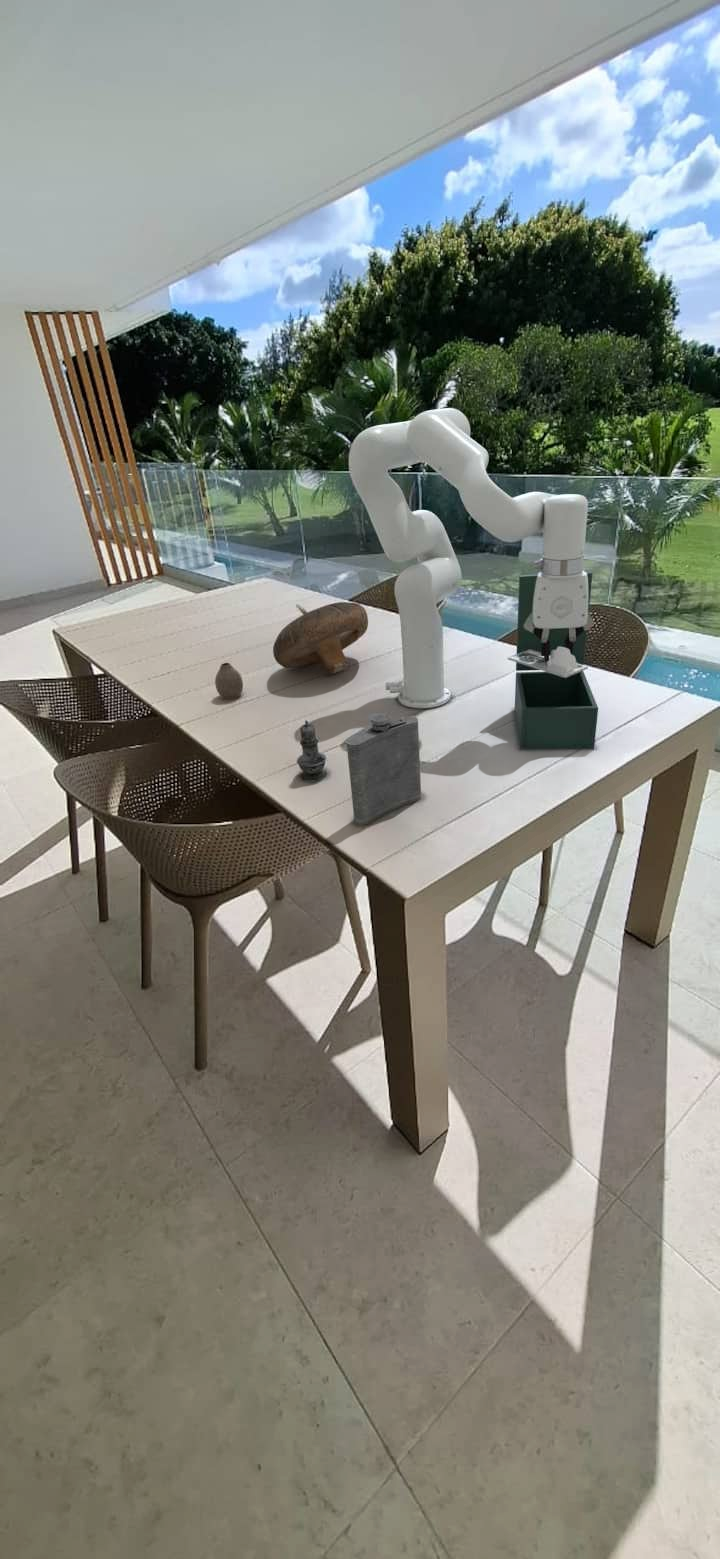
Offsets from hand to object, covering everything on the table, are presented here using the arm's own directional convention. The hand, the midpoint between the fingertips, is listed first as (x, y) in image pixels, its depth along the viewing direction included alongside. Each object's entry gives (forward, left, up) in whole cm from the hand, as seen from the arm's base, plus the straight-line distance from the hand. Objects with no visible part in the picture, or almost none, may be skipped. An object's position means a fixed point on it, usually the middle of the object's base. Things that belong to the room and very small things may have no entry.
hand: (556, 658), depth 135 cm
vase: (-78, +21, -16) cm, 82 cm away
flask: (-32, -32, -16) cm, 48 cm away
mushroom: (-56, +38, -16) cm, 70 cm away
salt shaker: (-48, -20, -16) cm, 54 cm away
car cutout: (-2, 0, -1) cm, 2 cm away
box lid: (0, +9, +4) cm, 10 cm away
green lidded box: (0, 0, -16) cm, 16 cm away
